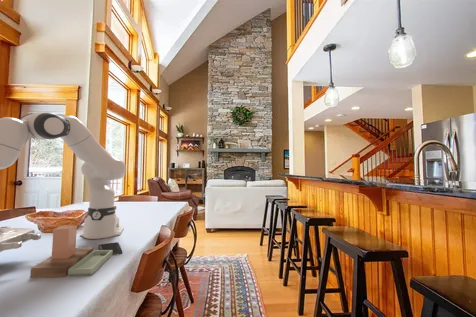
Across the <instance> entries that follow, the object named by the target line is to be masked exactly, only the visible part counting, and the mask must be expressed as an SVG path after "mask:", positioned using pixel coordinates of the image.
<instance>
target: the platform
mask: <svg viewBox="0 0 476 317" xmlns="http://www.w3.org/2000/svg"><path fill="white" fill-rule="evenodd" d="M92 251H94V247H76V250H75V254H74V255H72V256H71V257H69V258H66V259H52V255H51V256H50V257H48V258H46V259H45V260H43V261H40V262H39V263H37V264H35V265H34V266H31V268H30V276H29V278H30V279H36V278H37V279H39V278H42V279H43V278H62V277H63V278H65V277H68V269H69V268H71V267H72V266H73V265H75V264H76V263H77V262H79V261H80V260H82V259H83V258H84V257H86V256H87V255H88V254H90V253H91V252H92Z"/></svg>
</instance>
